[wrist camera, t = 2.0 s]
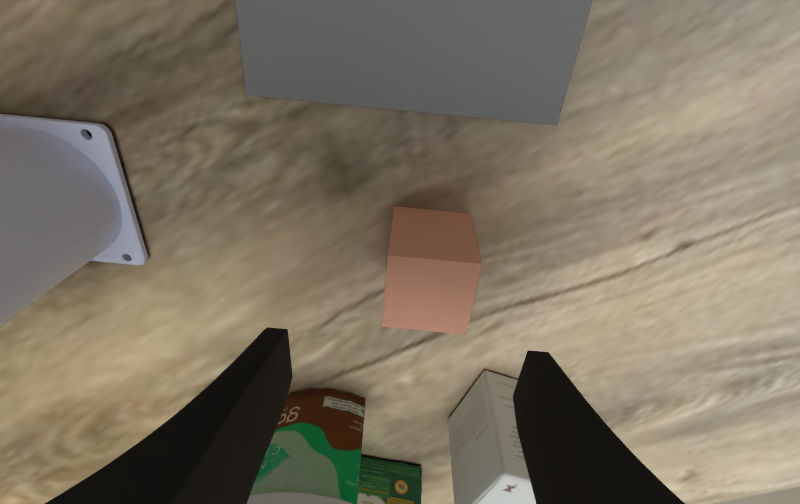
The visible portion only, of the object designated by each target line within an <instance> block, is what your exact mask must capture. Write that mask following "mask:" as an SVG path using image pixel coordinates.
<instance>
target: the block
mask: <svg viewBox="0 0 800 504" xmlns="http://www.w3.org/2000/svg"><path fill="white" fill-rule="evenodd" d="M481 267H482V261H481V257H480V253H479V249H478V245H477V241H476V237H475V233H474V229H473V225H472V221H471V217H470V213H462V212H452V211H441V210H431V209H420V208H410V207H399V206H394V212H393V219H392V227H391V234H390V242H389V249H388V257H387V270H386V283H385V296H384V309H383V321H382V327H390V328H401V329H412V330H423V331H434V332H444V333H455V334H466V333H467V329H468V324H469V320H470V315H471V311H472V307H473V302H474V298H475V294H476V289H477V285H478V280H479V276H480V272H481Z"/></svg>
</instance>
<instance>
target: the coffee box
mask: <svg viewBox="0 0 800 504" xmlns="http://www.w3.org/2000/svg"><path fill="white" fill-rule="evenodd" d="M421 478H422V468H421V467H419V466H413V465H408V464H405V463H403V462H392V461H385V460H380V459H374V458H368V457H363V456H361V461H360V474H359V486H358V499H357V504H421V493H422V481H421Z"/></svg>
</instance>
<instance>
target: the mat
mask: <svg viewBox="0 0 800 504" xmlns="http://www.w3.org/2000/svg"><path fill="white" fill-rule="evenodd" d="M591 4H592V0H236V9H237V18H238V27H239V36H240V44H241V53H242V62H243V71H244V80H245V89H246V95H248V96H258V97H268V98H279V99H289V100H299V101H310V102H320V103H331V104H341V105H351V106H362V107H372V108H383V109H393V110H403V111H414V112H424V113H434V114H445V115H455V116H466V117H476V118H486V119H497V120H507V121H517V122H528V123H538V124H549V125H557V123H558V120H559V116H560V113H561V109H562V106H563V102H564V99H565V95H566V92H567V88H568V85H569V81H570V78H571V74H572V70H573V67H574V63H575V60H576V56H577V53H578V49H579V46H580V42H581V39H582V35H583V32H584V28H585V25H586V21H587V18H588V14H589V11H590V7H591Z"/></svg>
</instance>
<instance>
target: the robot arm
mask: <svg viewBox="0 0 800 504" xmlns="http://www.w3.org/2000/svg"><path fill="white" fill-rule="evenodd" d="M87 130H88V131H89V132H90V133H91V134H92V137H91V136H89V135H88V133H87ZM127 254H128V255H130V256H131V257H129V256H128V255H127ZM147 260H148V255H147V251H146V248H145V245H144V241H143V238H142V234H141V231H140V228H139V224H138V221H137V217H136V214H135V211H134V207H133V204H132V201H131V197H130V194H129V190H128V187H127V184H126V180H125V177H124V173H123V170H122V167H121V163H120V160H119V157H118V153H117V150H116V146H115V143H114V140H113V136H112V134H111V131H110V130H109V129H108V128H107V127H106V126H105V125H103V124H100V123H92V122H81V121H71V120H60V119H50V118H40V117H29V116H19V115H8V114H0V327H1V326H3V325H4V324H5V323H7V322H8V321H9V320H11V319H12V318H13V317H15V316H16V315H18V314H19V313H20V312H22V311H23V310H24V309H26V308H27V307H28V306H30V305H31V304H32V303H34V302H35V301H36V300H38V299H39V298H40V297H42V296H43V295H45V294H46V293H47V292H49V291H50V290H51V289H53V288H54V287H55V286H57V285H58V284H59V283H61V282H62V281H63V280H65V279H66V278H67V277H69V276H70V275H72V274H73V273H74V272H76V271H77V270H78V269H80V268H81V267H82V266H84V265H85V264H86V263H88V262H89V261H98V262H109V263H120V264H130V265H142V264H144V263H145V262H146V261H147ZM291 380H292V368H291V358H290V348H289V338H288V329H278V328H266V329H265V330H264V331H263V332H262V333H261V334H260V335H259V336H258V337H257V338H256V339H255V340H254V341H253V342H252V343H251V344H250V345H249V346H248V347H247V349H246V350H245V351H244V352H243V353H242V354H241V355H240V356H239V357H238V358H237V359H236V360H235V361H234V362H233V363H232V364H231V365H230V366H229V367H228V368H227V369H225V370H224V371H223V372H222V373H221V374H220V375H219V376H218V377H217V378H216V379H215V380H214V381H213V382H212V383H211V384H210V385H209V386H208V387H206V388H205V389H204V390H203V391H202V392H201V393H200V394H199V395H197V396H196V397H195V398H194V399H193V400H192V401H191V402H190V403H188V404H187V405H186V406H185V407H184V408H183V409H181V410H180V411H179V412H178V413H177V414H175V415H174V416H173V417H172V418H170V419H169V420H168V421H167V422H165V423H164V424H163V425H162V426H160V427H159V428H158V429H156V430H155V431H154V432H153V433H151V434H150V435H149V436H147V437H146V438H145V439H143V440H142V441H140V442H139V443H138V444H136V445H135V446H133V447H132V448H131V449H129V450H128V451H126V452H125V453H124V454H122V455H121V456H119V457H118V458H116V459H115V460H114V461H112V462H111V463H109V464H108V465H106V466H105V467H103V468H102V469H100V470H99V471H97V472H95V473H94V474H92V475H91V476H89V477H87V478H86V479H84V480H83V481H81V482H80V483H78V484H76V485H75V486H73V487H72V488H70V489H68V490H67V491H65V492H64V493H62V494H60V495H59V496H57V497H55V498H54V499H52V500H50V501H49V502H47V503H45V504H247V501H248V499H249V496H250V493H251V490H252V487H253V485H254V482H255V480H256V477H257V475H258V472H259V470H260V467H261V465H262V462H263V460H264V457H265V455H266V452H267V450H268V447H269V445H270V442H271V440H272V437H273V435H274V432H275V430H276V427H277V425H278V422H279V420H280V417H281V415H282V412H283V410H284V406H285V402H286V399H287V395H288V392H289V388H290V384H291ZM513 403H514V411H515V418H516V425H517V431H518V435H519V439H520V443H521V447H522V451H523V455H524V459H525V463H526V466H527V470H528V474H529V478H530V482H531V485H532V489H533V493H534V497H535V501H536V504H685V503H684V502H682V501H681V500H680V499H679V498H678V497H677V496H676V495H675V494H674V493H673V492H671V491H670V490H669V489H668V488H667V487H666V486H665V485H664V484H663V483H662V482H661V481H660V480H659V479H658V478H657V477H656V476H655V475H654V474H653V473H652V472H651V471H650V470H649V469H648V468H647V467H646V466H645V465H644V464H642V463H641V461H640V460H639V459H638V458H637V457H636V456H635V455H634V454H633V453H632V452H631V451H630V450H629V449H628V448H627V447H626V446H625V445H624V444H623V442H622V441H621V440H620V439H619V438H618V437H617V436H616V435H615V434H614V433H613V431H612V430H611V429H610V428H609V427H608V426H607V425H606V423H605V422H604V421H603V420H602V419H601V418H600V416H599V415H598V414H597V413H596V412H595V410H594V409H593V408H592V407H591V406H590V404H589V403H588V402H587V401H586V400H585V398H584V397H583V396H582V395H581V393H580V392H579V391H578V390H577V388H576V387H575V386H574V384H573V383H572V382H571V381H570V379H569V378H568V377H567V376H566V374H565V373H564V372H563V370H562V369H561V368H560V366H559V365H558V364H557V363H556V361H555V360H554V359H553V358H552V356H551V355H550V354H549V353H548V352H539V351H528V352H527V355H526V358H525V361H524V364H523V367H522V370H521V373H520V376H519V379H518V382H517V385H516V388H515V391H514V394H513Z"/></svg>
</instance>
